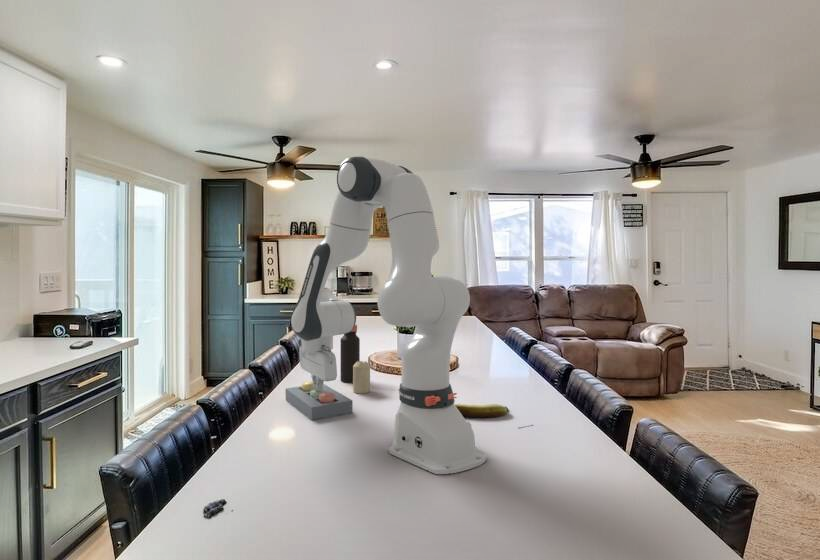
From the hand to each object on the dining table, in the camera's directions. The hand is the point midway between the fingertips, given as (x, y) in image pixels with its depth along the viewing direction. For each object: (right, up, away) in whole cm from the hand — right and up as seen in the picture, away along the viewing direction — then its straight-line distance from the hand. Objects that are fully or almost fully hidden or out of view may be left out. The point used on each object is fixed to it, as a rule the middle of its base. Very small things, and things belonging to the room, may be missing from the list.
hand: (317, 389), depth 135 cm
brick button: (+4, -3, -6) cm, 7 cm away
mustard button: (-4, -2, +6) cm, 8 cm away
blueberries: (-6, -7, -57) cm, 58 cm away
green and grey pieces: (+47, -6, -6) cm, 48 cm away
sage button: (0, -3, 0) cm, 3 cm away
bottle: (+5, -4, +30) cm, 31 cm away
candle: (+11, -5, +16) cm, 20 cm away
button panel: (0, -5, 0) cm, 5 cm away
